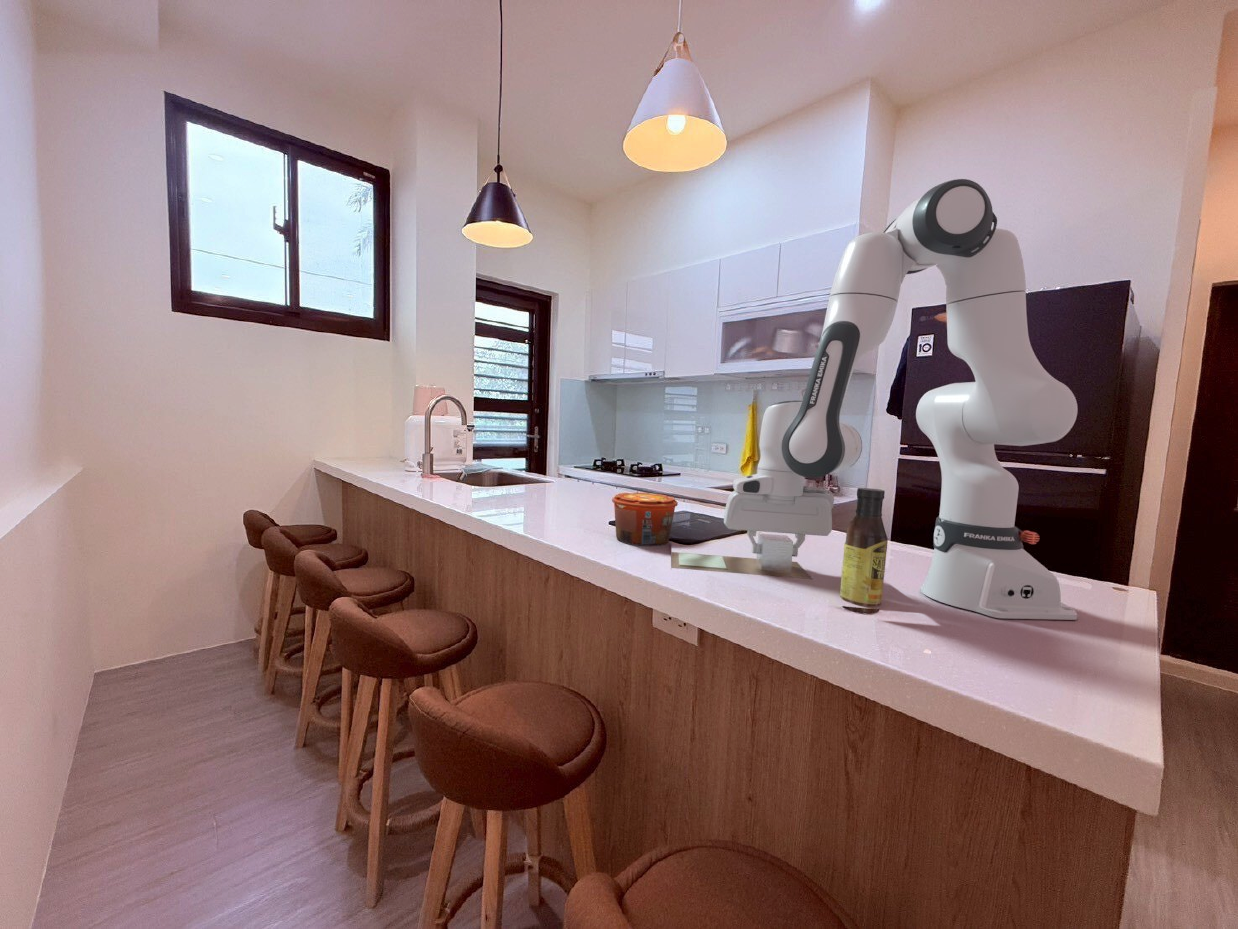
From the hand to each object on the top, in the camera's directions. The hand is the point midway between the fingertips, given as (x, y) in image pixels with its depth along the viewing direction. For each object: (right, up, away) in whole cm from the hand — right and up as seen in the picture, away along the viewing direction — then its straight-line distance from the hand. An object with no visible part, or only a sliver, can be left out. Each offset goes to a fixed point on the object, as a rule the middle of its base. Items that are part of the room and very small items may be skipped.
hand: (774, 554), depth 102 cm
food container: (-25, -1, +25) cm, 35 cm away
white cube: (0, -3, 0) cm, 3 cm away
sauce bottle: (+9, -6, -16) cm, 20 cm away
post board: (-7, -4, +1) cm, 8 cm away
